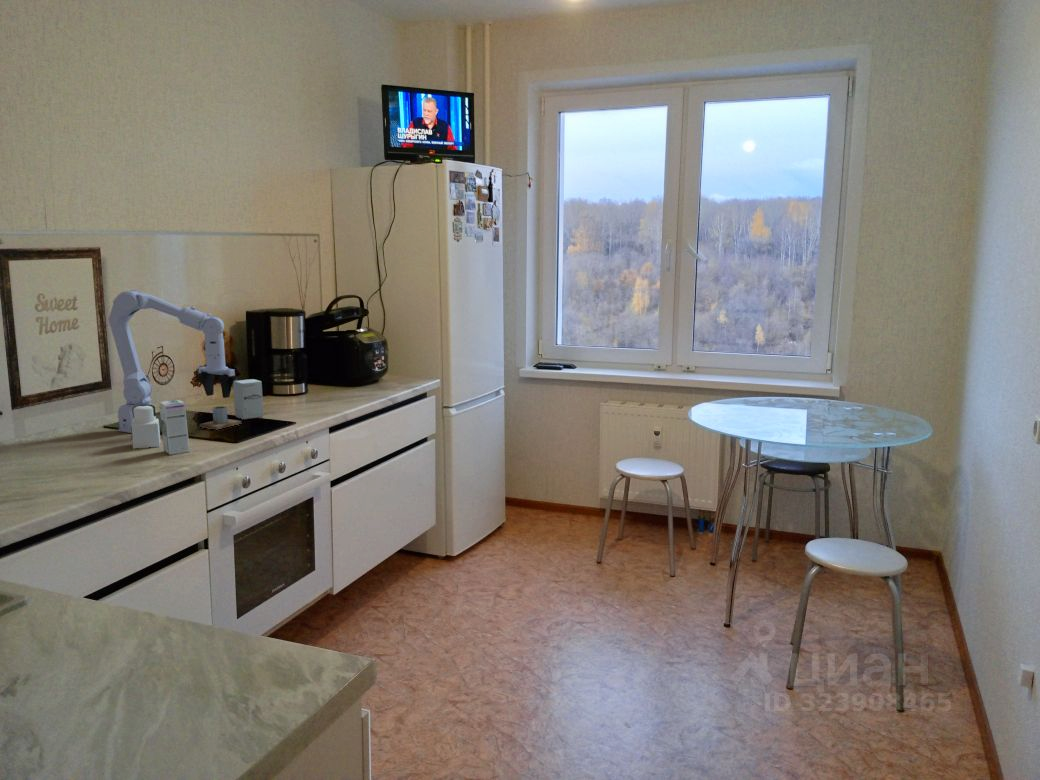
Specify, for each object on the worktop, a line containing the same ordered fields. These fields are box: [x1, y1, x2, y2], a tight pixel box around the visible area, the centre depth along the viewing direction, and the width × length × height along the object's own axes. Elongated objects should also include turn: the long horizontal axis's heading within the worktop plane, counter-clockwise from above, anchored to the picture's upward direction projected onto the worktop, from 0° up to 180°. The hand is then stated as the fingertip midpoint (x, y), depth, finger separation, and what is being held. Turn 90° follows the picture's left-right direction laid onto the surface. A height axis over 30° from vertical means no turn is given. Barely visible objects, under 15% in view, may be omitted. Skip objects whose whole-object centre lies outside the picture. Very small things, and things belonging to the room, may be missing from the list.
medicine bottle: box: [130, 404, 161, 450], centre depth 227 cm, size 7×7×12 cm
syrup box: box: [158, 399, 190, 456], centre depth 220 cm, size 6×6×14 cm
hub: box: [212, 405, 229, 424], centre depth 252 cm, size 4×4×5 cm
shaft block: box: [199, 418, 242, 431], centre depth 253 cm, size 10×8×6 cm
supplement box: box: [232, 378, 264, 420], centre depth 266 cm, size 7×7×13 cm
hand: (218, 396), depth 252 cm, fingers open, 7 cm apart
